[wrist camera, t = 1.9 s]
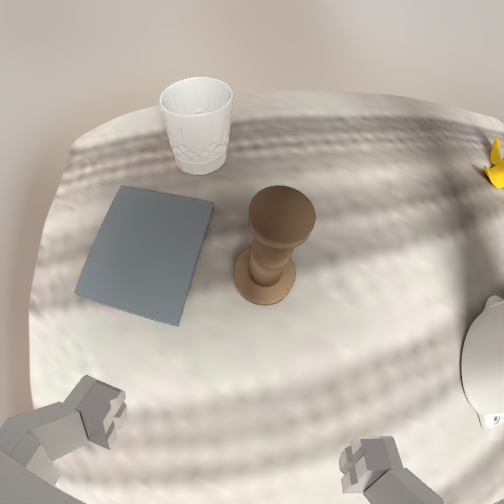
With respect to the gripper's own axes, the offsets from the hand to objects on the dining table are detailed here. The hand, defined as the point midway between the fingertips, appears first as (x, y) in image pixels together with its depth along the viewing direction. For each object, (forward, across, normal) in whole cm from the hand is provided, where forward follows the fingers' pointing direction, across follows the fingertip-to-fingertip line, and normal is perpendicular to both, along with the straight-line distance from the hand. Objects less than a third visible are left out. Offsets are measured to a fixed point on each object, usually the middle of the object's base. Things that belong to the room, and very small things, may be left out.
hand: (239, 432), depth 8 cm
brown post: (+22, -1, +3) cm, 22 cm away
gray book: (+22, +12, +3) cm, 25 cm away
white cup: (+32, +10, -7) cm, 34 cm away
